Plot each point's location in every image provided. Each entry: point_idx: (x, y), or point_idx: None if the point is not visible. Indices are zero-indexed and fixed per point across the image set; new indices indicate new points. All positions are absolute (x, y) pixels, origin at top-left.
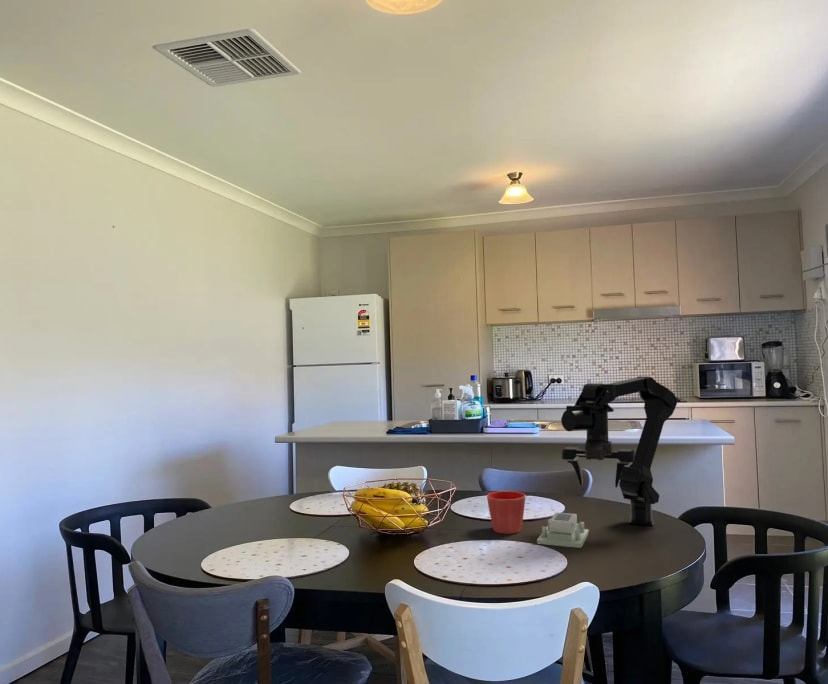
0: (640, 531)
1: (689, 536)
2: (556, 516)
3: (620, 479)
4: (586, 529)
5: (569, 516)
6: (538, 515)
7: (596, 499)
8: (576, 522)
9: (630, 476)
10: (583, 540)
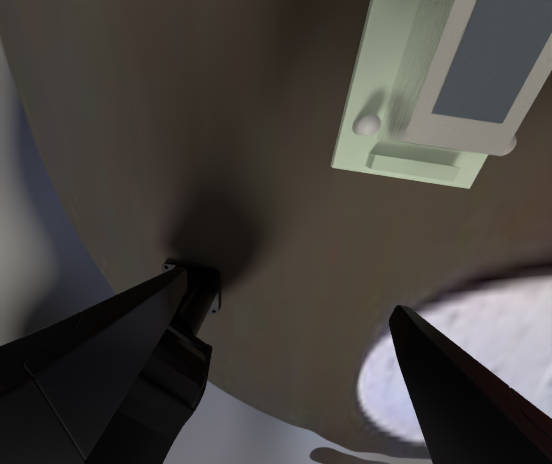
0: (187, 212)
1: (68, 185)
2: (542, 45)
3: (185, 404)
4: (339, 166)
5: (460, 64)
6: (442, 322)
7: (286, 420)
8: (391, 131)
9: (124, 410)
10: (371, 3)
